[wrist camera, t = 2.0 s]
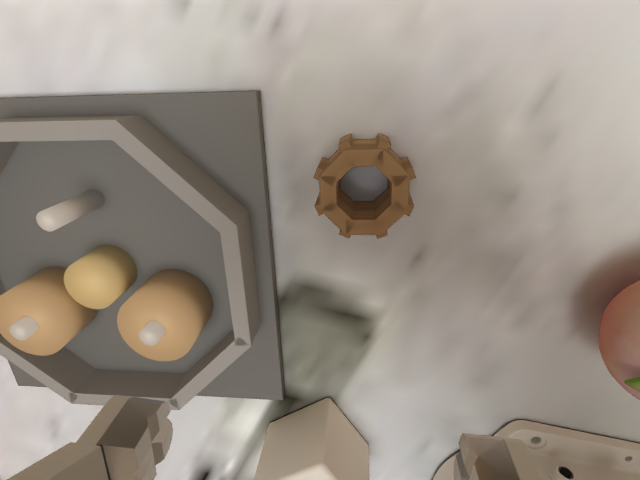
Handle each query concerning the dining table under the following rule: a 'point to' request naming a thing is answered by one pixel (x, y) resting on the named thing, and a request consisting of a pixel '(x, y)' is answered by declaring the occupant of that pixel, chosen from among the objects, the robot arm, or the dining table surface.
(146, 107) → the grey octagonal tray
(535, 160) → the dining table surface
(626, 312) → the decorative fruit
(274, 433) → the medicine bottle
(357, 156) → the planet gear
